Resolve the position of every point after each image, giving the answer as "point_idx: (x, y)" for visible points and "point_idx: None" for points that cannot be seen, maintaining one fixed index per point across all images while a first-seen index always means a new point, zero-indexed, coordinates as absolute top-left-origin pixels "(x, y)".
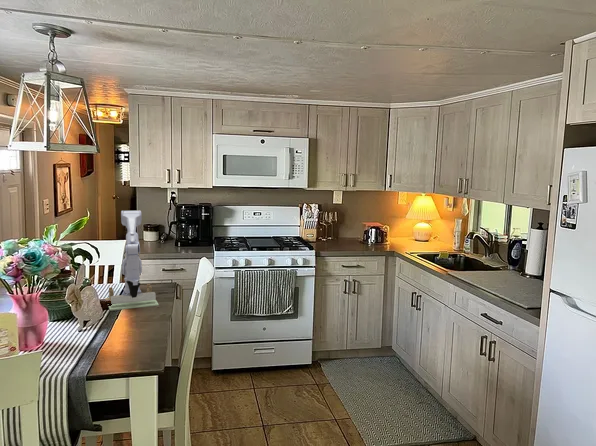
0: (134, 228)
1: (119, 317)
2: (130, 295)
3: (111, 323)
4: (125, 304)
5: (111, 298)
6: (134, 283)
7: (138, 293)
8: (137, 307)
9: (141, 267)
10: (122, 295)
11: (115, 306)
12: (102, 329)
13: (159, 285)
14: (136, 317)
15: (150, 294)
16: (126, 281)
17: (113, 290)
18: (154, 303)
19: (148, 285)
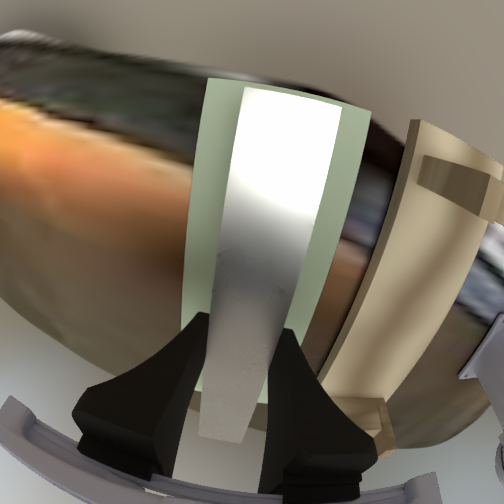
0: None
1: (54, 128)
2: (226, 320)
3: (9, 86)
4: None
5: (245, 89)
6: (5, 418)
7: (260, 386)
8: (184, 288)
9: (500, 479)
10: (276, 250)
11: None
12: None
13: (457, 423)
14: (33, 218)
15: (200, 418)
16: (344, 457)
17: (476, 214)
18: (202, 380)
19: (380, 449)
